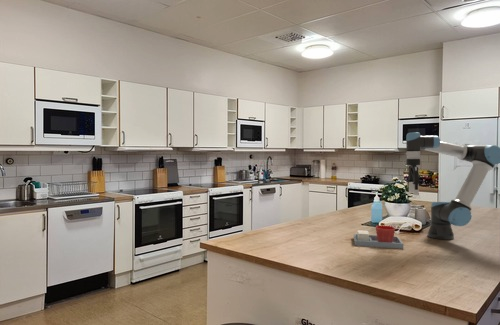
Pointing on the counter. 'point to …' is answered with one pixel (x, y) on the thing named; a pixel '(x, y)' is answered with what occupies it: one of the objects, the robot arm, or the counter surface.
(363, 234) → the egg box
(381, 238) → the flower pot
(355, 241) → the grey tray
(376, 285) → the counter surface
